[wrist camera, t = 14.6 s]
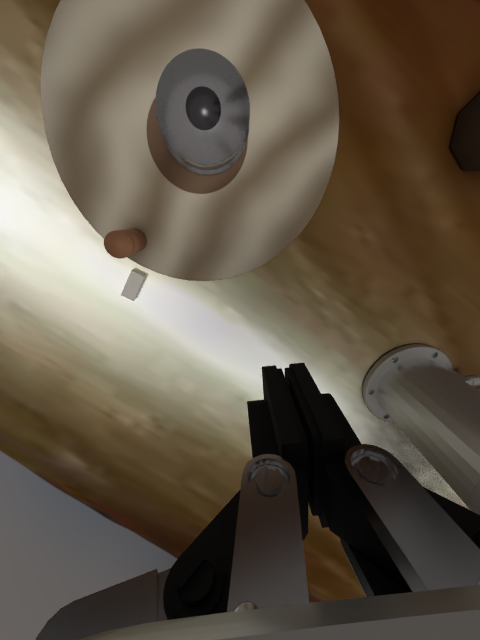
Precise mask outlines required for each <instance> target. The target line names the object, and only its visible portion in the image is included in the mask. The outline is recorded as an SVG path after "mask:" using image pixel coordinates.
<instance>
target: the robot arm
mask: <svg viewBox="0 0 480 640" xmlns="http://www.w3.org/2000/svg"><path fill="white" fill-rule="evenodd" d="M262 376H263V391H264V400H257V401H247V405H248V415H249V426H250V436H251V445H252V455H253V459H252V460H250V461H249V462H248V463H247V465H246V466H245V468H244V471H243V474H242V481H241V489H240V491H239V492H238V493H237V494H236V495H235V496H234V497H233V498H232V499H231V500H230V502H229V503H228V504H227V505H226V506H225V507H224V508H223V509H222V510H221V512H220V513H219V514H218V515H217V516H216V517H215V518H214V519H213V520H212V521H211V523H210V524H209V525H208V526H207V527H206V528H205V529H204V530H203V531H202V533H201V534H200V535H199V536H198V537H197V538H196V539H195V540H194V541H193V542H192V544H191V545H190V546H189V547H188V548H187V549H186V550H185V551H184V552H183V554H182V555H181V556H180V557H179V558H178V559H177V561H176V562H175V564H174V565H173V566H172V568H170V569H168V570H165V571H163V572H160V573H158V572H157V569H155V570H152V571H150V572H147V573H145V574H142V575H140V576H137V577H134V578H132V579H129V580H127V581H124V582H121V583H119V584H116V585H114V586H111V587H109V588H106V589H103V590H101V591H98V592H96V593H93V594H90V595H88V596H85V597H83V598H80V599H78V600H75V601H73V602H71V603H69V604H68V605H66V606H64V607H62V608H61V609H60V610H59V611H58V612H57V613H56V614H55V615H54V616H53V617H52V618H50V619H49V620H48V621H47V623H46V624H45V626H44V627H43V629H42V630H41V632H40V633H39V634H38V636H37V637H36V640H480V387H476V388H474V387H473V386H475V385H480V375H469V376H465V377H464V376H462V375H461V374H459V373H458V372H456V371H454V370H453V367H452V364H451V362H450V360H449V358H448V357H447V356H446V355H445V354H444V353H443V352H441V351H440V350H438V349H436V348H434V347H432V346H429V345H425V344H412V345H406V346H403V347H399V348H397V349H395V350H393V351H391V352H389V353H388V354H386V355H384V356H383V357H382V358H381V359H380V360H378V361H377V362H376V363H375V364H374V366H373V367H372V368H371V369H370V371H369V373H368V374H367V376H366V378H365V381H364V384H363V390H362V391H363V399H364V402H365V404H366V406H367V407H368V409H369V410H370V411H371V412H372V413H373V415H375V416H376V417H378V418H379V419H382V420H384V421H389V422H395V424H396V425H397V426H398V427H399V428H400V429H401V430H402V432H403V433H404V434H405V435H406V436H407V437H408V438H409V440H410V441H411V442H412V443H413V444H414V445H415V447H416V448H417V449H418V450H419V451H420V452H421V453H422V455H423V456H424V457H425V458H426V459H427V460H428V461H429V463H430V464H431V465H432V466H433V467H434V468H435V470H436V471H437V472H438V473H439V474H440V475H441V476H442V478H443V479H444V480H445V481H446V482H447V483H448V484H449V486H450V487H451V488H452V489H453V490H454V491H455V493H456V494H457V495H458V496H459V497H460V498H461V499H462V501H463V502H464V503H465V504H466V505H467V506H468V507H469V509H470V510H471V511H470V510H468V509H466V508H464V507H462V506H460V505H458V504H456V503H454V502H452V501H450V500H448V499H446V498H444V497H442V496H440V495H438V494H436V493H434V492H432V491H430V490H428V489H426V488H424V487H422V486H421V485H420V483H419V482H418V481H417V480H416V479H415V478H414V477H413V476H412V475H411V474H410V473H409V471H408V470H407V469H406V468H405V467H404V466H403V465H402V464H401V463H400V462H399V461H398V459H396V458H395V457H394V456H393V455H392V454H391V453H389V452H387V451H386V450H384V449H382V448H379V447H377V446H374V445H367V444H361V443H360V441H359V439H358V438H357V436H356V434H355V433H354V431H353V429H352V428H351V426H350V424H349V423H348V421H347V420H346V418H345V416H344V415H343V413H342V411H341V410H340V408H339V406H338V405H337V403H336V401H335V400H334V398H333V397H332V395H331V394H329V393H327V394H321V393H320V391H319V389H318V388H317V386H316V384H315V382H314V380H313V378H312V377H311V375H310V373H309V371H308V369H307V368H306V366H305V364H304V363H295V364H290V365H289V368H285V377H284V374H283V372H282V369H277V368H276V366H265V367H262ZM308 502H309V506H310V509H311V512H312V515H313V516H316V515H318V516H319V519H320V522H321V526H322V528H324V527H329V529H330V531H332V532H333V533H334V534H336V535H337V536H338V537H340V541H341V544H342V547H343V550H344V552H345V554H346V556H347V558H348V560H349V562H350V564H351V566H352V568H353V570H354V572H355V574H356V576H357V578H358V580H359V582H360V584H361V586H362V589H363V591H364V593H365V595H366V597H362V598H352V599H343V600H334V601H324V602H315V603H309V599H308V589H307V579H306V569H305V559H304V549H303V540H304V539H305V537H306V535H307V534H308Z"/></svg>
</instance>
